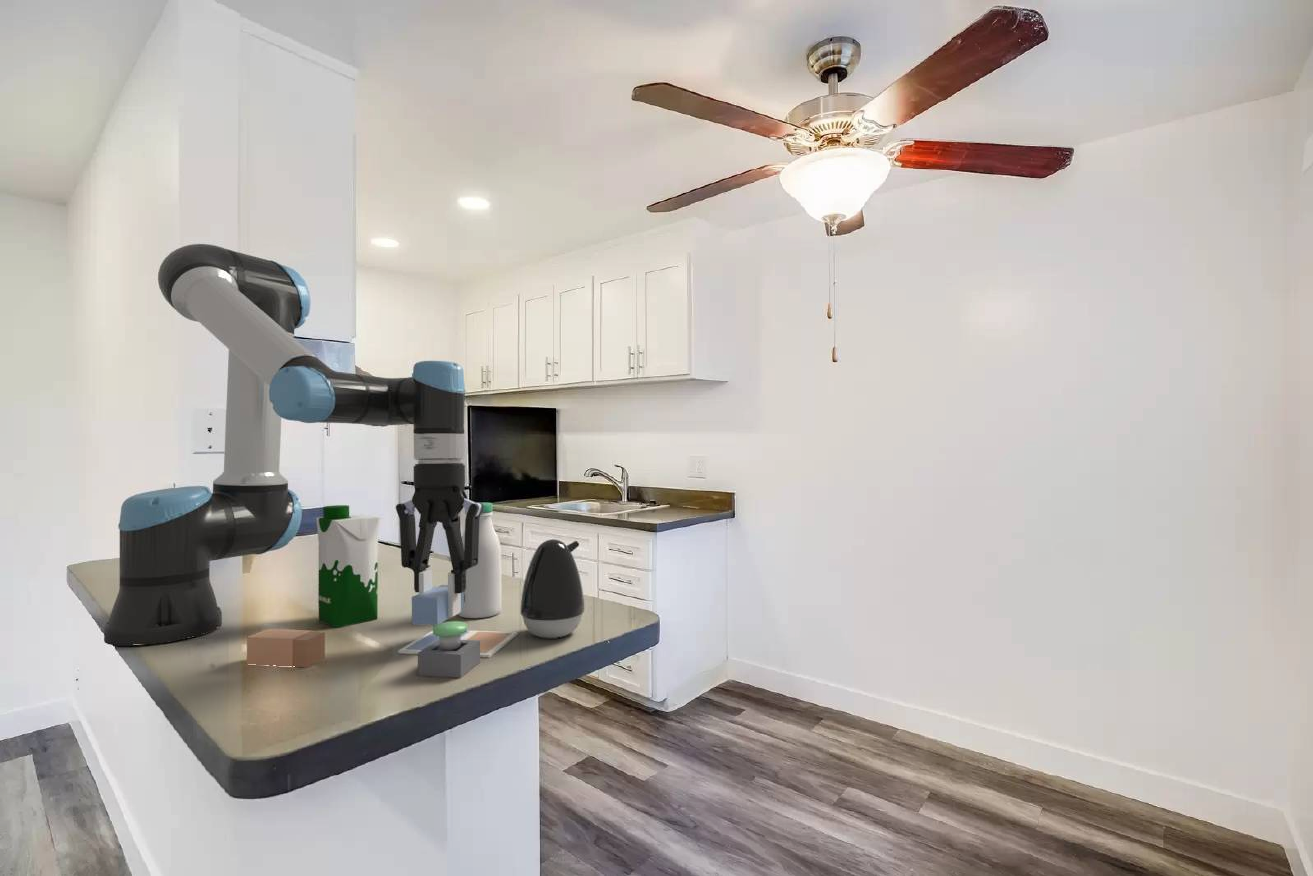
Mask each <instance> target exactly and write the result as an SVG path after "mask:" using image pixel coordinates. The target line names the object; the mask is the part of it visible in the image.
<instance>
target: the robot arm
mask: <svg viewBox="0 0 1313 876" xmlns="http://www.w3.org/2000/svg"><path fill="white" fill-rule="evenodd" d="M157 282H158V287H159V290H160V292H161V294H162V296H163V297H164V299H165V301H166V302H167V303H168V304H169V305H170V306H171V307H172V308H173V310H175V311H176V312H177V313H178V314H180V315H181V316H182V317H184V318H185V319H186V320H190V321H193V322H198V323H199V324H201V325H202V326H203V327H204V328H205V329H206V330H207V331H208V332H209V333H210V334H211V335H213V336H214V337H215V338H216V339H217V340H218V341H219V342H220V343H221V344H223V346H224V347H226V348H227V349H228V359H227V360H228V361H227V362H228V363H227V385H226V386H227V387H226V409H225V410H226V411H225V412H226V413H225V430H224V431H225V432H224V433H225V434H224V457H223V459H224V460H223V471H222V473H221V474H220V475H219V476H218V477H217V478H215V479H214V480H213V481H212V492H211V489H210V488H209V486H206V485H205V486H203V485H192V486H191V485H188V486H182V487H181V486H180V487H171V488H170V487H169V488H162V489H157V490H150V491H145V492H141V493H136V494H134V495H131V496H129V497H127V498H126V499H125V500H124V501H123V502H122V504H121V506H120V515H119V523H118V529H119V589H118V593H117V596H116V598H115V601H114V603H113V607H112V609H111V613H110V616H109V620H108V621H107V622H106V623H105V624H104V628H103V629H104V630H103V637H104V638H103V642H104V643H105V644H107V645H111V646H116V647H117V646H118V647H134V646H133V644H150V645H157V643H159V644H164V643H163V642H166V643H170V642H169V641H172V642H177V640H178V641H181V640H180V639H183V638H187V639H189V638H188V637H191V638H193V637H192V636H195V637H199V636H202V635H204V634H203V633H206V632H208V633H211V632H213V631H215V630H214V629H216V628H217V627H219V628H221V626H222V625H221V624H223V623H222V622H223V621H222V619H223V618H222V617H223V611H222V609H221V607H220V606H218V603H217V599H216V598H217V597H216V595H215V593H214V589H213V586H212V584H211V580H210V562H212V561H219V560H223V559H229V558H236V557H243V556H248V555H249V556H250V555H262V554H265V553H267V552H272V551H276V550H280V549H281V548H282V549H283V548H284V547H285V546H286V547H287V545H288V544H290V542H291V541H292V540H293V539H294V538H295V537H296V535H297V533H298V531H299V529H300V526H301V524H302V513H303V512H302V511H303V510H302V509H303V508H302V504H301V502H299V497H298V495H297V494H296V493H295V492H294V491H293V490H291V489H289V486H288V485H289V480H288V479H287V478H285V477H284V476H283V475H282V474H281V473H280V464H281V463H280V461H281V460H280V459H281V435H282V434H281V433H282V419H284V420H287V421H293V422H301V423H305V424H314V423H315V424H316V423H323V424H325V423H327V424H357V425H366V426H371V427H388V426H402V425H403V426H404V425H413V426H412V427H413V430H412V431H413V433H412V434H413V459H414V460H415V461H417V463H415V464H414V465H413V487H414V493H413V494H412V498H411V500H407V501H405V502H402V503H398V504H396V505H395V510H396V513H397V515H398V518H399V534H400V535H399V536H400V537H399V538H400V558H401V559H400V560H401V561H400V562H401V566H402V568H404V569H405V568H407V569H410V570H412V572H413V582H414V583H413V590H414V593H418V594H420V593H422V592H425V591H427V590H430V589H432V588H433V569H428V568H430V566H431V565H430V564H429V562H430V561H429V559H430V554H431V551H432V545H433V538H434V534H435V529H436V527H437V525H438V523H441V525H442V529H443V530H444V533H445V535H446V536H445V537H446V542H447V547H448V552H449V558H450V562H451V567H452V569H451V570H450V572H448V573H447V585H448V616H449V617H451V618H453V617H455V616H456V615H458V613H460V612H461V593H462V592H464V591H465V589H466V570H467V569H469V568H471V567H474V566H476V565H477V564H478V551H479V518H480V515H481V513H482V510H483V507H484V506H483V504H482V503H483V502H475V501H473V500H470V499H468V495H467V494H466V492H465V485H466V465H465V464H464V463H463V462H462V460H464V459H465V458H466V445H465V444H466V443H465V403H466V402H465V401H466V388H465V377H464V368H463V367H462V365H460V364H458V363H457V362H453V361H446V360H422V361H418V362H416V363H415V364H414V365H413V367H412V368H413V369H412V371H413V372H412V373H411V376H410V377H409V376H408V377H393V378H391V377H381V376H374V375H373V376H372V375H366V374H365V375H364V374H357V373H352V372H351V373H350V372H343V371H342V372H341V371H337V370H333V369H332V368H331V367H329V366H328V365H327V364H325V363H324V362H323V361H322V360H321V359H319V358H318V357H317V356H315V355H314V354H313V353H312V352H311V351H310V350H308V348H306V347H305V346H304V345H302V343H301V342H299V341H298V340H297V339H296V338H295V330H296V329H298V328H301V326H303V325H304V324H305V323H306V321H307V320H306V318H307V317H309V315H310V311H311V294H310V291H309V290H310V289H309V287H308V285H307V283H306V280H304V278H303V277H302V276H301V274H300V273H299V272H298V271H296V270H295V269H293V268H291V267H288V266H287V265H286V266H285V265H284V264H283V265H282V264H281V263H278V262H277V261H274V260H272V259H271V260H269V259H264V258H261V257H258V256H257V257H256V256H254V255H249V254H246V253H241V252H239V251H234V250H231V249H227V248H225V247H222V246H218V245H215V244H207V243H196V244H195V243H193V244H188V245H184V246H181V247H179V248H177V249H174V250H173V251H172V252H170V253H169V254H168V255H167V256H166V257H165V258H164V259H163V260H162V263H161V264H160V266H159V270H158V272H157ZM461 462H462V463H461ZM463 508H464V514H465V515H466V516H465V520H464V531H465V545H464V547H463V542H462V533H461V527H460V526H461V520H460V516H459V515H460V513H461V511H462V510H463ZM416 510H417V511H416ZM416 512H418V513H419V515H420V517H419V522H418V528H419V531H418V535H417V530H416V516H415V513H416ZM217 629H218V628H217ZM217 629H216V630H217ZM212 630H213V631H212ZM210 631H211V632H210ZM201 634H202V635H201ZM206 634H207V633H206ZM198 635H199V636H198ZM183 640H184V639H183Z"/></svg>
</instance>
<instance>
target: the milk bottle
mask: <svg viewBox="0 0 1313 876" xmlns="http://www.w3.org/2000/svg"><path fill="white" fill-rule="evenodd" d="M481 503H482V504H483V506H484V507H483V510H482V513H481V515H480V518H479V551H478V564H477V565H476V566H474V567H471V568H469V569H467V570H466V589H465V591H464V610H462V611H461V612H460V613H458V614H457V615H458V616H459V617H461V618H464V619H465V618H466V619H481V618H482V619H483V618H490V617H492V616H493V617H494V616H497V615H499V614H500V613H501V611H502V547H501V542H500V538H499V537H498V535H497V532H496V530H495V528H494V525H493V521H492V517H493V509H494V506H493V503H491V502H481ZM461 537H462V542H463V547H464V545H465V530H464V531H463V534H462V535H461Z"/></svg>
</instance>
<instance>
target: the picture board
mask: <svg viewBox="0 0 1313 876" xmlns="http://www.w3.org/2000/svg"><path fill="white" fill-rule="evenodd" d="M517 636H518V632H517V631H513V632H512V631H493V630H491V631H490V630H469V629H467V631H466V632H465V633H463V634H461V640H476V641H480V658H488V659H489V658H491V657H492V656H494V655H495V654H496V653H497V652H498V651H499V650H501V649H502V648H503V647H504V646H506V645H508V643H509V642H510V641H512V640H514V638H516V637H517ZM437 640H439V636H435V635H433V630H431V631H428V633H426V634H424V635H423V636H421V637H419V638H417V639H416V640H413V641H412V642H410V643H408V644H407V645H406V646H404V647H402V648H400V649H398V650H397V652H398V654H404V655H405V654H406V655H418V652H420V651H421V650H423V649H425V648H426V647H428V646H429V645H431V644H433V643H434V642H436V641H437Z"/></svg>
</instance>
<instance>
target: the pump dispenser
mask: <svg viewBox="0 0 1313 876" xmlns="http://www.w3.org/2000/svg"><path fill="white" fill-rule="evenodd" d="M579 545H580V542H578V540H574V541H572V542H571V543H568V545H567V544H565V542H563V541H561V540H559V539H548V540H545V541H543V542H542V543H541V544H539V545H538V547H537V548H536V550H535V551H534V553H533V555H532V557H531V559H530V562H529V565H528V568H527V571H526V575H525V578H524V581H523V585H522V591H521V592H522V593H521V599H520V610H519V611H520V615H521V616H522V619H523V622H524V625H525V627H526V628H527V630H528V631H529V632H530V633H531V634H532V635H534V636H535V637H538V638H542V639H559V638H558V637H560V638H564V637H566V636H568V635H570V634H572V633H573V632H574V631H575V630H576V629H577V628H578V626H579V625H580V623H581V621H582V618H583V614H584V613H585V598H584V590H583V589H584V588H583V585H582V581H581V576H580V572H579V569H578V566H577V562H576V561H575V558H574V556H573V552H574V551H575V550H576V549H577V548H578V547H579ZM563 636H564V637H563Z"/></svg>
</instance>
